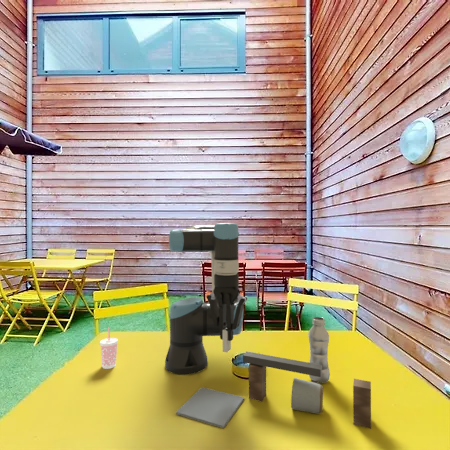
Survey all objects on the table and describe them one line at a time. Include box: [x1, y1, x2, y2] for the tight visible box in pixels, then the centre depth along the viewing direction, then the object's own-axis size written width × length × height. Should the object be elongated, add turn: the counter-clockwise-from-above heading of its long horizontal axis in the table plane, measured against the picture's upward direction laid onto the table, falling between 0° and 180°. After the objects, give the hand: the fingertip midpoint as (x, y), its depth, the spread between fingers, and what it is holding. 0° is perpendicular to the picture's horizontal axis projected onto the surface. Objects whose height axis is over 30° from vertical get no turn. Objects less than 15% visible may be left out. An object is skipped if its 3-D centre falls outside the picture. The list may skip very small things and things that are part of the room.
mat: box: [175, 386, 245, 429], centre depth 86 cm, size 14×14×1 cm
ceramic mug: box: [290, 377, 324, 414], centre depth 86 cm, size 11×8×8 cm
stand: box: [248, 363, 372, 429], centre depth 85 cm, size 32×4×10 cm, turn 65°
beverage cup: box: [99, 326, 119, 370], centre depth 111 cm, size 6×6×14 cm
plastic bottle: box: [307, 316, 331, 384], centre depth 100 cm, size 6×7×20 cm
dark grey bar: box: [242, 351, 322, 377], centre depth 88 cm, size 22×3×2 cm, turn 65°
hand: (226, 350), depth 95 cm, fingers closed
